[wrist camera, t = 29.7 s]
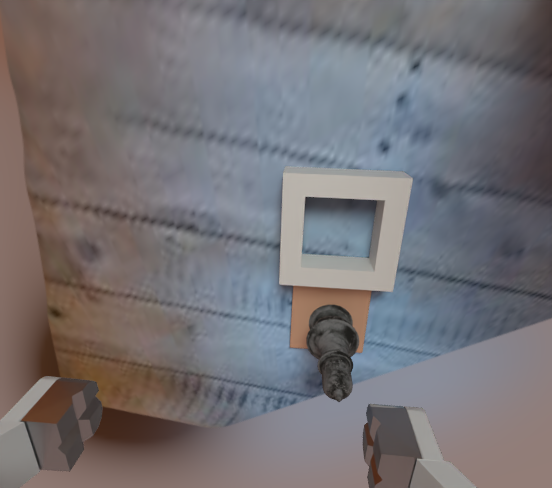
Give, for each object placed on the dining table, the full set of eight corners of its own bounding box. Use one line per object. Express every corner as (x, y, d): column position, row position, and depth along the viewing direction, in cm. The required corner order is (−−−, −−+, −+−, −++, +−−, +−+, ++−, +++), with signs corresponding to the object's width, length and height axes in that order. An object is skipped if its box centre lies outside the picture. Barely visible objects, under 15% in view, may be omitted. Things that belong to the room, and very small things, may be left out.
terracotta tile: (370, 287, 41) (371, 289, 41) (361, 349, 45) (362, 352, 44) (293, 282, 42) (293, 284, 41) (290, 344, 45) (290, 347, 45)
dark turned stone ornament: (298, 333, 44) (296, 413, 33) (317, 295, 41) (321, 367, 30) (342, 349, 44) (355, 433, 33) (363, 312, 42) (384, 389, 31)
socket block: (403, 171, 36) (412, 178, 33) (385, 276, 40) (392, 291, 37) (285, 166, 37) (283, 172, 33) (281, 270, 41) (279, 284, 38)
